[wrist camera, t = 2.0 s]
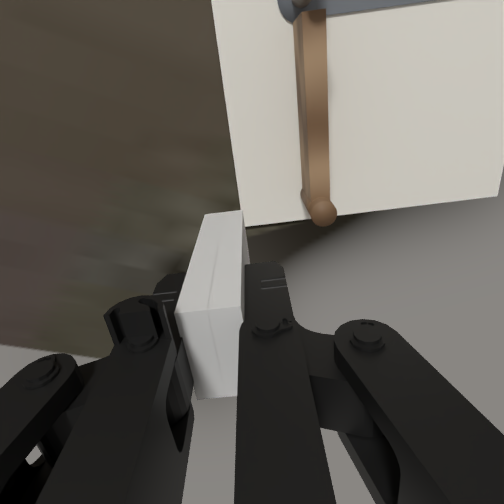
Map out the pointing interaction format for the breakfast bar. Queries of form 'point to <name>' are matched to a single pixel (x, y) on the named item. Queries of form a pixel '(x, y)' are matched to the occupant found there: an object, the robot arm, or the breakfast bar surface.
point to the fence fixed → (300, 3)
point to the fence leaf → (313, 114)
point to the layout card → (367, 103)
